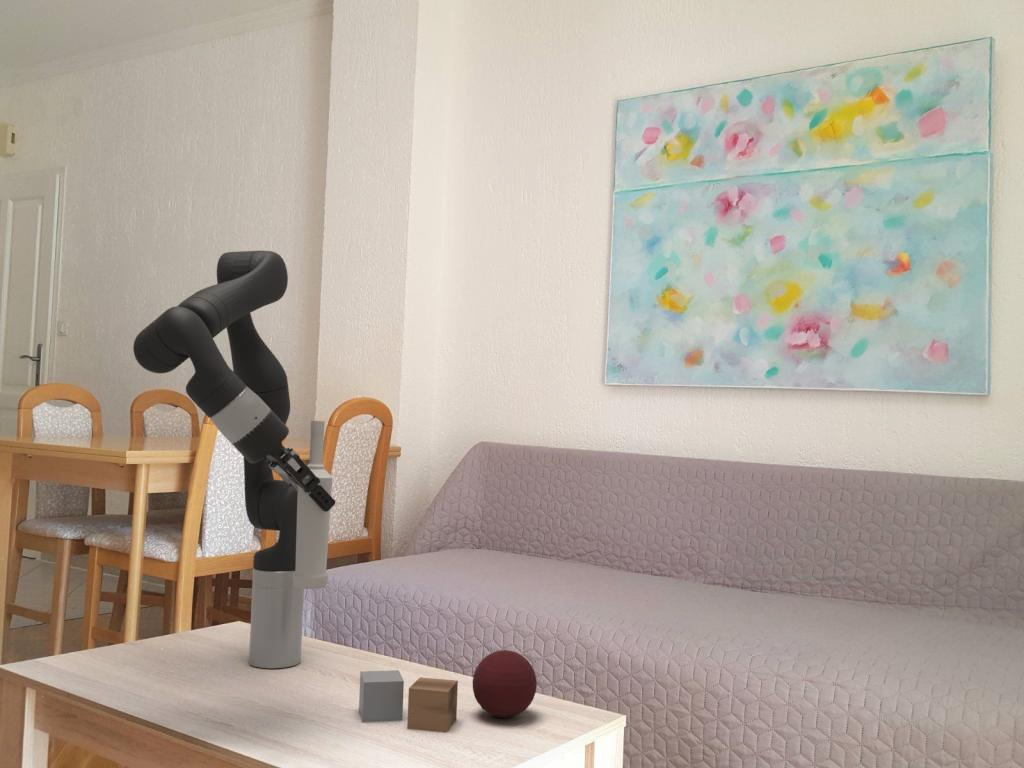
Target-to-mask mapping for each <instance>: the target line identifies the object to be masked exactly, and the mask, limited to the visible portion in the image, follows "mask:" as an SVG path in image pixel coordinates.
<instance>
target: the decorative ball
mask: <svg viewBox="0 0 1024 768" xmlns="http://www.w3.org/2000/svg"><path fill="white" fill-rule="evenodd" d="M472 676H473V678H472V692H473V695H474V698H475V700H476V702H477V704H478V705H479V706H480V707H481V709H482V710H483V711H485V712H486V713H487V714H489V715H491V716H493V717H496V718H502V719H503V718H504V719H507V718H512V717H516V716H518V715H520V714H522V713H523V712H524V711H526V709H528V708H529V706H531V704H532V702H533V700H534V699H535V695H536V691H537V686H538V685H537V684H538V683H537V682H538V681H537V676H536V672H535V670H534V667H533V665H532V664H531V663H530V661H529V660H528V659H527V658H526V657H525V656H524V655H522V654H520V653H518V652H516V651H513V650H508V649H507V650H506V649H504V650H496V651H493V652H492V653H490V654H488V655H486V656H485V657H484V658H483V659H481V660H480V662H479V663H478V665H477V667H476V668H475V671H474V674H473V675H472Z"/></svg>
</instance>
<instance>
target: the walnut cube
mask: <svg viewBox="0 0 1024 768" xmlns="http://www.w3.org/2000/svg"><path fill="white" fill-rule="evenodd" d="M458 684H459V681H458V679H457V680H455V679H454V680H453V679H446V678H445V679H442V678H433V677H432V678H431V677H422V676H421V677H418V678H417V680H415V681H414V682H413V683H412V684H411V686H409V688H408V699H407V700H408V701H407V721H406V722H407V727H406V729H407V730H414V731H415V730H416V731H417V730H418V731H425V732H427V731H428V732H438V733H446V734H447V733H448V731H449V730H450V729H451V727H452V726H453V725H454V723H456V721H457V713H458V712H457V711H458V690H459V689H458V686H459V685H458Z"/></svg>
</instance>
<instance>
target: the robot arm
mask: <svg viewBox="0 0 1024 768" xmlns="http://www.w3.org/2000/svg"><path fill="white" fill-rule="evenodd" d="M288 276H289V275H288V268H287V265H286V262H285V261H284V259H283V257H282V256H281V254H278V253H277V252H275V251H273V250H240V251H228V252H225V253H222V254H221V255H220V257H219V258H218V260H217V265H216V282H217V283H216V284H212V285H211V286H207V287H205V288H201V289H200V290H198V291H196V292H195V293H193V294H192V295H190V296H189V297H187V298H185V299H184V300H183V301H181V302H180V303H179V304H178V305H177V306H172V307H170V308H168V309H166V310H165V311H164V312H162V313H161V314H160V315H159V316H158V317H157V318H155V319H154V320H153V321H152V322H150V323H149V324H148V325H147V326H146V327H145V328H143V329H142V330H141V331H140V332H139V333H138V334H137V335H136V337H135V339H134V341H133V349H132V350H133V355H134V358H135V360H136V362H137V363H138V365H140V367H142V368H143V369H145V370H146V371H147V372H151V373H153V374H168V373H170V372H172V371H174V370H176V369H177V368H178V367H179V366H180V365H182V364H183V363H184V362H186V361H187V360H188V359H190V361H191V363H192V365H193V369H194V374H193V375H192V377H191V378H190V379H189V380H188V382H187V384H186V386H185V391H186V392H185V393H186V394H187V396H188V397H189V399H190V400H192V401H193V402H194V404H195V405H196V406H197V407H198V408H199V409H200V410H201V411H202V412H203V413H204V414H205V415H206V416H207V417H208V418H209V420H210V421H212V423H213V424H214V425H215V427H216V428H217V430H218V431H219V432H220V433H221V434H222V436H223V437H224V438H225V439H226V440H227V441H229V443H230V444H231V445H232V446H233V447H234V448H235V449H236V450H237V451H238V452H239V453H240V454H241V455H242V456H243V475H244V476H243V477H244V504H245V510H246V511H245V512H246V515H247V519H248V521H249V522H250V524H251V525H252V526H253V528H256V529H260V530H268V531H277V532H278V531H279V535H278V540H277V542H276V543H275V544H274V545H272V546H269V547H266V548H263V549H261V550H257V551H256V552H255V553H254V554H253V561H252V567H253V568H252V580H251V581H252V585H251V586H252V587H251V605H250V606H251V612H250V630H249V631H250V637H249V659H248V664H249V665H250V666H252V667H255V668H260V669H283V668H290V667H294V666H297V665H299V664H300V663H301V661H302V639H303V615H304V591H305V589H301V588H296V587H294V581H293V574H294V573H295V569H296V532H297V496H298V486H299V487H300V488H301V489H302V490H303V491H304V493H305V494H307V495H309V496H310V497H311V498H312V499H313V500H314V502H315V503H316V504H317V505H318V506H319V507H320V508H321V509H322V510H323V511H325V512H327V511H329V510H330V511H331V509H332V508H333V507H334V506H335V505H336V500H335V499H334V498H333V497H332V495H331V496H330V495H329V494H328V493H327V492H326V491H325V489H324V488H323V487H322V486H321V485H320V479H319V478H318V477H316V476H315V475H314V473H313V472H312V471H311V470H310V468H309V467H308V466H307V465H308V464H306V462H304V461H303V460H302V458H301V456H300V455H299V453H298V452H297V451H296V450H294V449H293V448H289V447H285V446H284V445H283V441H284V440H285V439H287V437H288V435H289V433H290V430H289V427H288V426H287V425H286V424H287V422H288V420H289V416H290V412H291V400H290V399H291V398H290V389H289V381H288V376H287V373H286V371H285V369H284V367H283V365H282V364H281V362H280V361H279V359H278V358H277V357H276V356H275V354H274V353H273V352H272V350H271V349H270V348H269V347H268V346H267V344H266V342H265V341H264V340H263V339H262V337H261V336H260V334H259V333H258V330H257V329H256V327H255V324H254V320H253V318H252V314H251V313H252V312H255V311H257V310H259V309H262V308H263V307H266V306H268V305H270V304H274V303H276V302H278V301H280V300H281V299H282V298H283V297H284V296H285V293H286V291H287V288H288V280H289V277H288ZM224 330H226V332H227V336H228V337H227V338H228V343H229V347H230V348H229V349H230V354H231V355H230V356H231V361H232V363H231V364H232V368H230V366H229V364H228V363H227V362H226V360H225V358H224V355H222V353H221V351H220V350H219V347H218V346H217V343H216V342H215V340H214V338H215V337H216V336H217V335H219V334H220V333H222V332H223V331H224ZM273 472H274V473H275V474H277V475H278V476H279V477H280V478H281V479H282V480H281V479H280V480H279V479H275V478H274V473H273ZM305 477H309V478H310V479H311V480H310V481H309V482H308V483H307V484H306V485H305V484H304V483H303V481H302V480H303V479H304V478H305Z"/></svg>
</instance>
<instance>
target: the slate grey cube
mask: <svg viewBox="0 0 1024 768" xmlns="http://www.w3.org/2000/svg"><path fill="white" fill-rule="evenodd" d="M404 684H405V680H404V678H403V676H402V674H401V672H400V670H398V669H397V670H396V669H394V670H392V669H391V670H371V671H370V670H369V671H368V670H367V671H366V670H365V671H364V670H363V671H360V673H359V697H358V712H359V716H360V719H361V722H362V723H378V722H397V721H398V722H400V721H402V722H403V713H404V712H403V711H404V710H403V709H404V708H403V707H404V686H405V685H404Z"/></svg>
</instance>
